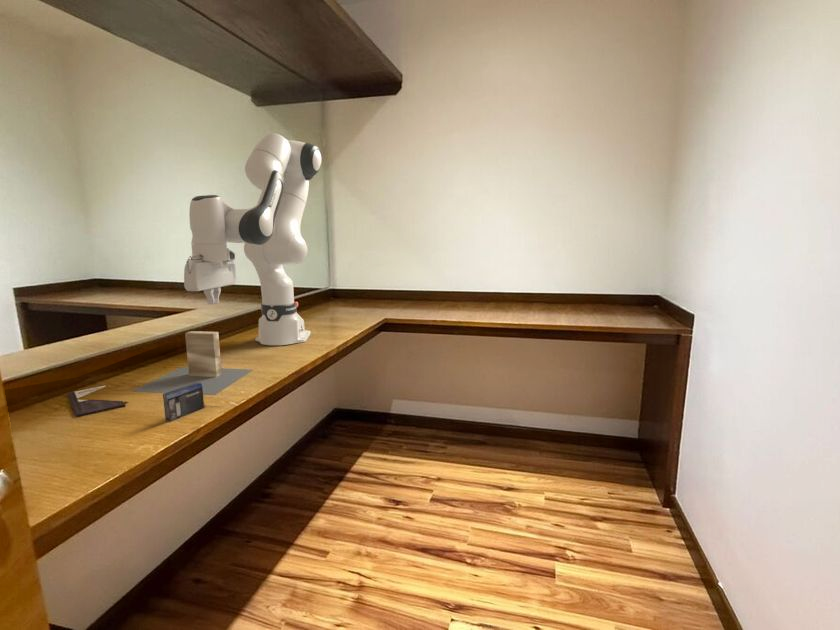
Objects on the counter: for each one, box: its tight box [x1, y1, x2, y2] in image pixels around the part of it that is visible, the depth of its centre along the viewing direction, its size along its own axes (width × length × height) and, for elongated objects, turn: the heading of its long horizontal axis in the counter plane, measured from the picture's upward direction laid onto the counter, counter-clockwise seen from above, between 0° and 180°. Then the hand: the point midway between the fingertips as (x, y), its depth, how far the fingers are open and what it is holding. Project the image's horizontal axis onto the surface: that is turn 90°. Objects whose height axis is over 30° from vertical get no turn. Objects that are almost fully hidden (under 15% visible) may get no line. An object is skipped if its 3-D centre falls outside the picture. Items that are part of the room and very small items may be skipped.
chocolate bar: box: [67, 384, 126, 418], centre depth 103 cm, size 9×1×18 cm
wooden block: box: [184, 330, 222, 377], centre depth 119 cm, size 3×8×12 cm, turn 84°
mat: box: [130, 366, 254, 396], centre depth 116 cm, size 20×22×1 cm
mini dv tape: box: [162, 382, 205, 423], centre depth 95 cm, size 8×2×6 cm, turn 154°
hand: (213, 303), depth 123 cm, fingers closed
